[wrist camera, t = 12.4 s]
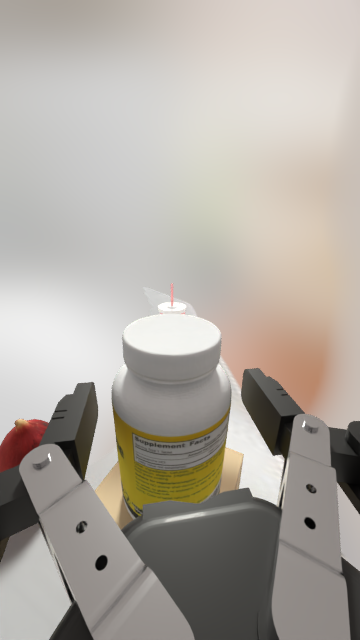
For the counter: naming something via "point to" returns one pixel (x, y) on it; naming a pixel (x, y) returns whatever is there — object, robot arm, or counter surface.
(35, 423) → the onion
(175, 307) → the beverage cup
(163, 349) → the pill bottle
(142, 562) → the robot arm
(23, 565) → the counter surface
